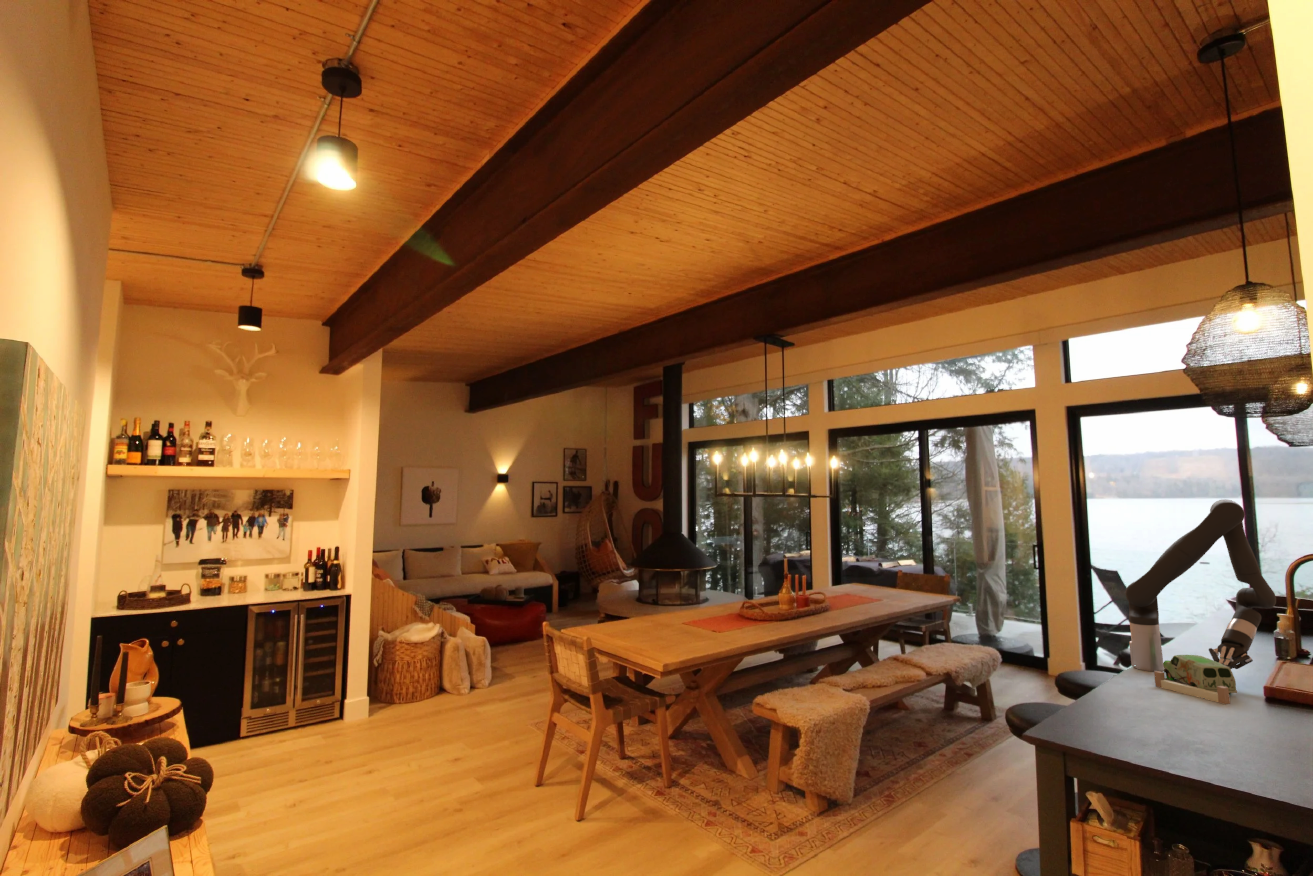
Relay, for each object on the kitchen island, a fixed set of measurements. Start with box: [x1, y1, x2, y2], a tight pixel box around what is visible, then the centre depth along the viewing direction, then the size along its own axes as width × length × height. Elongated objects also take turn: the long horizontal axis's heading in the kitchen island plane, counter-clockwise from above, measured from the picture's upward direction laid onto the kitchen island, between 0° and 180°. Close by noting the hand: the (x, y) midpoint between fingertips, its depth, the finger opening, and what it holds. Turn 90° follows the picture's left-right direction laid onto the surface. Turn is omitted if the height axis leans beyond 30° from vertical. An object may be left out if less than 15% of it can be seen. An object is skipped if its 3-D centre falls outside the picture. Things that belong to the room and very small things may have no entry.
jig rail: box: [1153, 671, 1231, 705], centre depth 217 cm, size 22×2×5 cm, turn 16°
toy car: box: [1163, 654, 1238, 696], centre depth 225 cm, size 11×25×10 cm, turn 167°
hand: (1220, 675), depth 222 cm, fingers closed
